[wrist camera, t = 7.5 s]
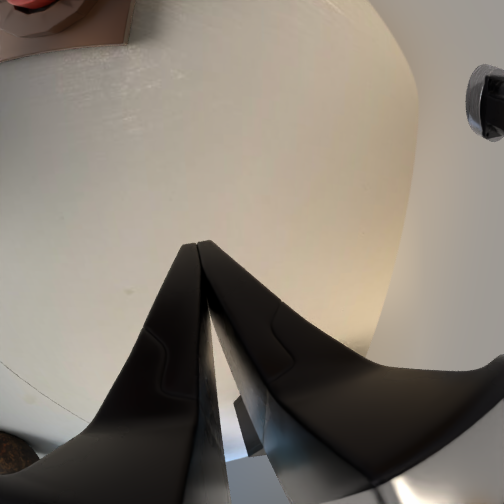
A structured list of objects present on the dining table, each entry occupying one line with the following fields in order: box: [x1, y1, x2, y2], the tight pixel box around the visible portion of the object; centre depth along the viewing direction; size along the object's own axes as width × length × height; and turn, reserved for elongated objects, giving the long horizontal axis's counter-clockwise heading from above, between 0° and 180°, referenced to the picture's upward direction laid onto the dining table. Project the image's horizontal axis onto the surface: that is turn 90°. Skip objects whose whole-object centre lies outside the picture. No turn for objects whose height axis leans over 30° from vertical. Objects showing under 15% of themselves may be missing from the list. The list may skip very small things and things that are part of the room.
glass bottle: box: [0, 432, 40, 475], centre depth 28 cm, size 18×18×28 cm
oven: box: [234, 395, 267, 457], centre depth 36 cm, size 10×10×9 cm
